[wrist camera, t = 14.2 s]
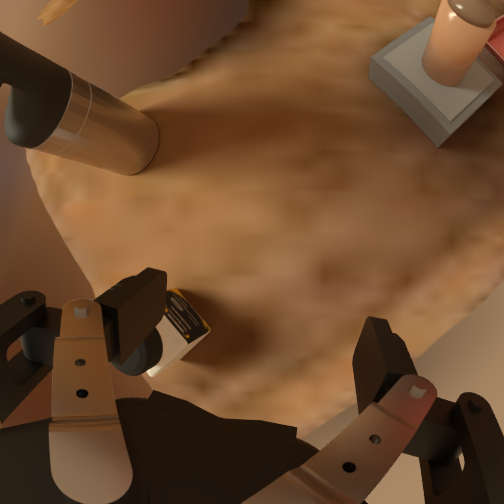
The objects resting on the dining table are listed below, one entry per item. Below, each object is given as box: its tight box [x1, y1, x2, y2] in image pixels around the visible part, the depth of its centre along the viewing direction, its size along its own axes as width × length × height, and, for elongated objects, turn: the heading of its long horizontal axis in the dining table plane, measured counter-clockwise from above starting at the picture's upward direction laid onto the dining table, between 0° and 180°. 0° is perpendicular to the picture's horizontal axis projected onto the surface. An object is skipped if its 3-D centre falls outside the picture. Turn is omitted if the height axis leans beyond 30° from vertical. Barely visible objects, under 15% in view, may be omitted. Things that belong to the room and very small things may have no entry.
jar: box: [421, 0, 496, 87], centre depth 20 cm, size 5×5×12 cm
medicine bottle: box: [110, 288, 211, 377], centre depth 34 cm, size 7×7×12 cm
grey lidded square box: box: [368, 16, 503, 148], centre depth 28 cm, size 12×12×5 cm
